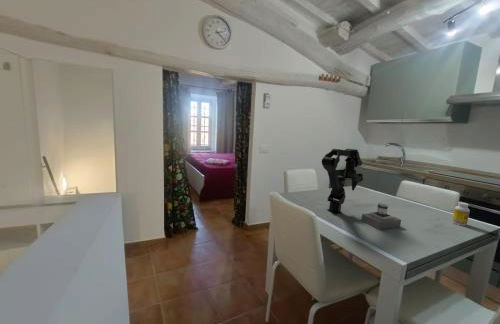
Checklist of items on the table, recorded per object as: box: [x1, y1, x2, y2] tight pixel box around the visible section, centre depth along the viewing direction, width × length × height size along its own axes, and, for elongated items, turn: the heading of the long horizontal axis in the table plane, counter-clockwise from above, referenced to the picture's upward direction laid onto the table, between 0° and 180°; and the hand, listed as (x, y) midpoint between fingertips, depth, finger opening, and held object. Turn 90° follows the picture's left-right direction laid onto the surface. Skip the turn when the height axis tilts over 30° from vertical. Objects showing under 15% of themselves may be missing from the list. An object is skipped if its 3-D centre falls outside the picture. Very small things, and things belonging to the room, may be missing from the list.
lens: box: [376, 203, 389, 217], centre depth 130 cm, size 5×5×7 cm
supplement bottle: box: [451, 201, 471, 227], centre depth 137 cm, size 7×7×13 cm
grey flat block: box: [361, 211, 402, 230], centre depth 131 cm, size 16×12×6 cm
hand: (347, 190), depth 153 cm, fingers open, 9 cm apart
